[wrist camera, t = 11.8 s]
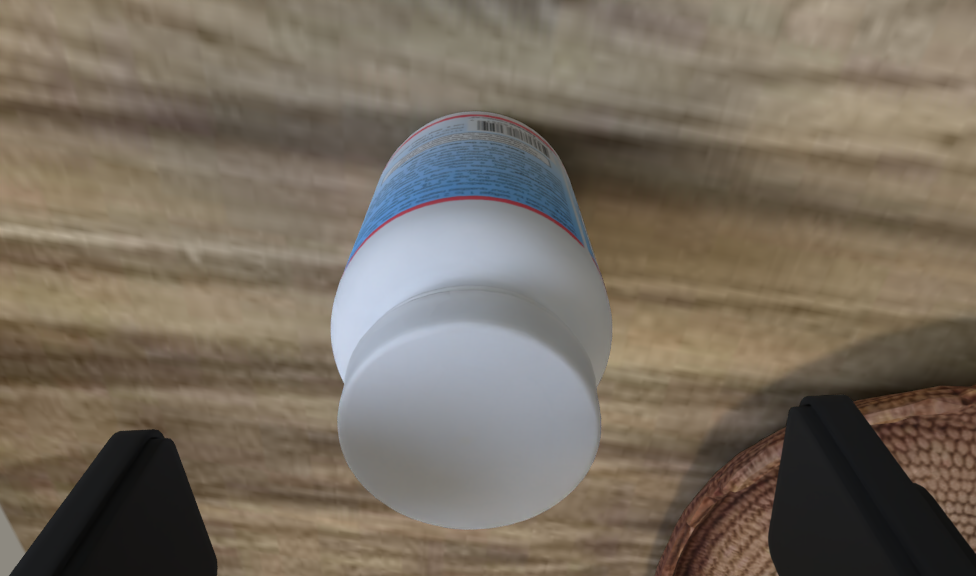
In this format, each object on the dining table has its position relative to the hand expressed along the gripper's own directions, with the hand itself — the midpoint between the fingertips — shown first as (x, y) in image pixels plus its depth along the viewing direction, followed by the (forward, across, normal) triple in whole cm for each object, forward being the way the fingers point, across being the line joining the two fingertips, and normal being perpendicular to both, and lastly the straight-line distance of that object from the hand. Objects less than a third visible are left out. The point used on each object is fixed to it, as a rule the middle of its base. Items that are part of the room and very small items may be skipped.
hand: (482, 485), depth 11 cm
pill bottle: (+13, 0, 0) cm, 13 cm away
